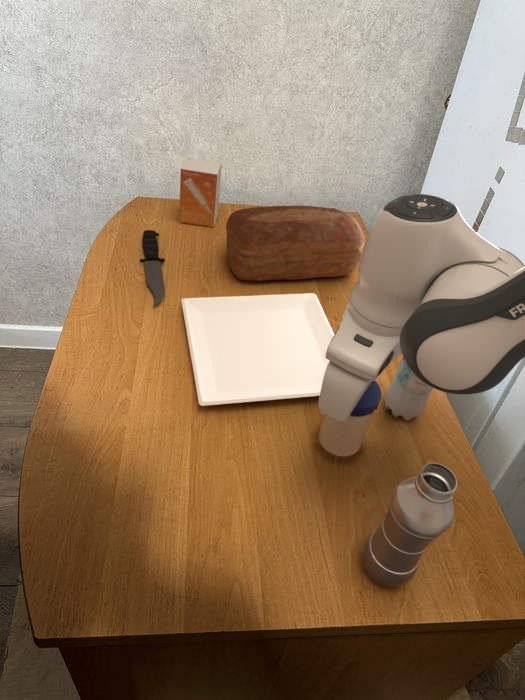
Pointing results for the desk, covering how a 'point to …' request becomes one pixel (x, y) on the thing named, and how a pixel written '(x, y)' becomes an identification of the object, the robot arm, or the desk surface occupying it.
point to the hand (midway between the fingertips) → (353, 397)
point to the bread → (292, 242)
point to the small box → (199, 191)
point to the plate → (257, 347)
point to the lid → (368, 401)
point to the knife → (153, 265)
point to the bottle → (407, 393)
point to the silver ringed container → (410, 525)
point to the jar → (343, 434)
